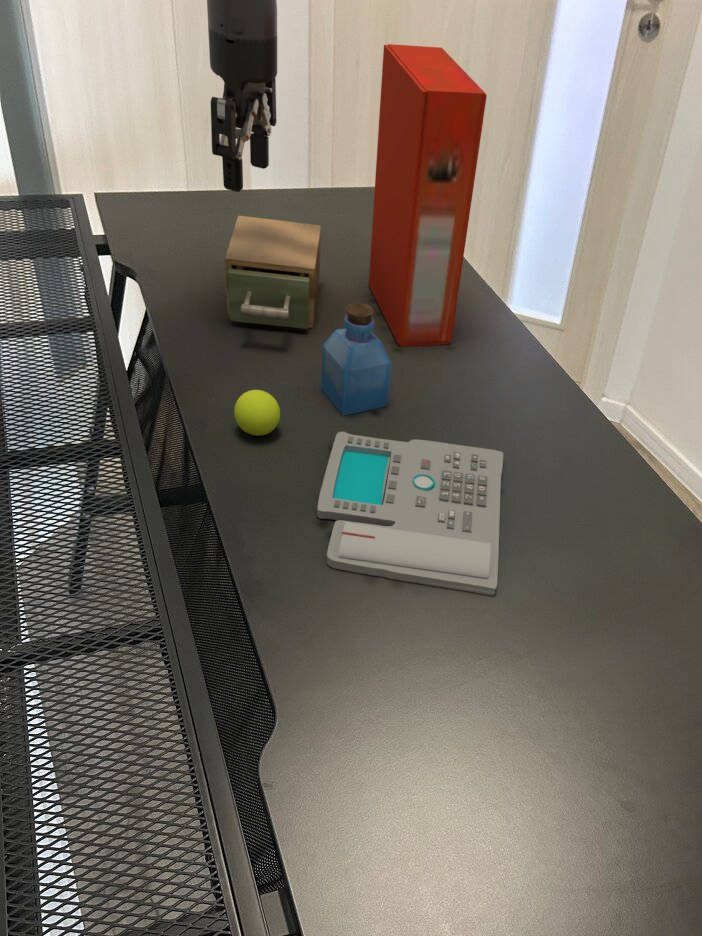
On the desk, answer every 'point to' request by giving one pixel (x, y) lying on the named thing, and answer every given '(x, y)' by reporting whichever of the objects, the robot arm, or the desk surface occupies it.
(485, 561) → the office telephone
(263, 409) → the ball
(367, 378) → the perfume bottle
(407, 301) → the file binder
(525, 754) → the desk surface
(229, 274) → the drawer
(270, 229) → the cabinet
